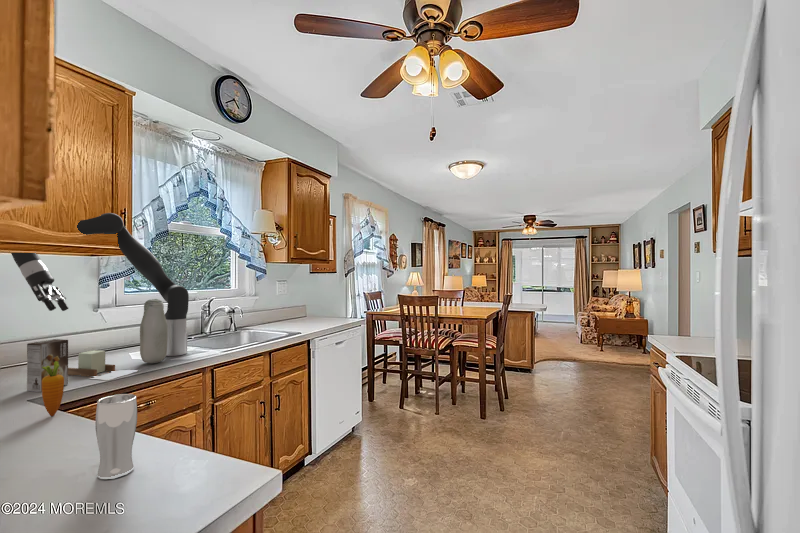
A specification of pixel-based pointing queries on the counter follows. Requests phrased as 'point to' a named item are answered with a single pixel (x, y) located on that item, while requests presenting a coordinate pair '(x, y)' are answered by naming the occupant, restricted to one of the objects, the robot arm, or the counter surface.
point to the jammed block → (92, 360)
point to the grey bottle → (153, 332)
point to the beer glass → (116, 433)
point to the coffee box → (45, 361)
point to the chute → (89, 370)
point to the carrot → (52, 389)
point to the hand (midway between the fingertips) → (59, 309)
